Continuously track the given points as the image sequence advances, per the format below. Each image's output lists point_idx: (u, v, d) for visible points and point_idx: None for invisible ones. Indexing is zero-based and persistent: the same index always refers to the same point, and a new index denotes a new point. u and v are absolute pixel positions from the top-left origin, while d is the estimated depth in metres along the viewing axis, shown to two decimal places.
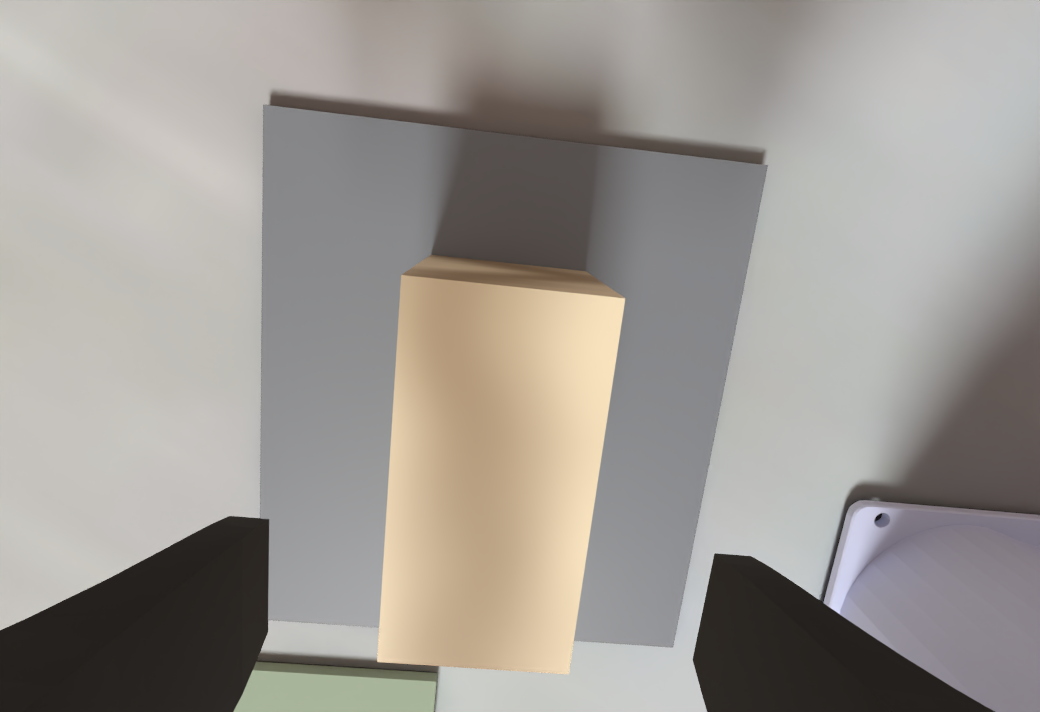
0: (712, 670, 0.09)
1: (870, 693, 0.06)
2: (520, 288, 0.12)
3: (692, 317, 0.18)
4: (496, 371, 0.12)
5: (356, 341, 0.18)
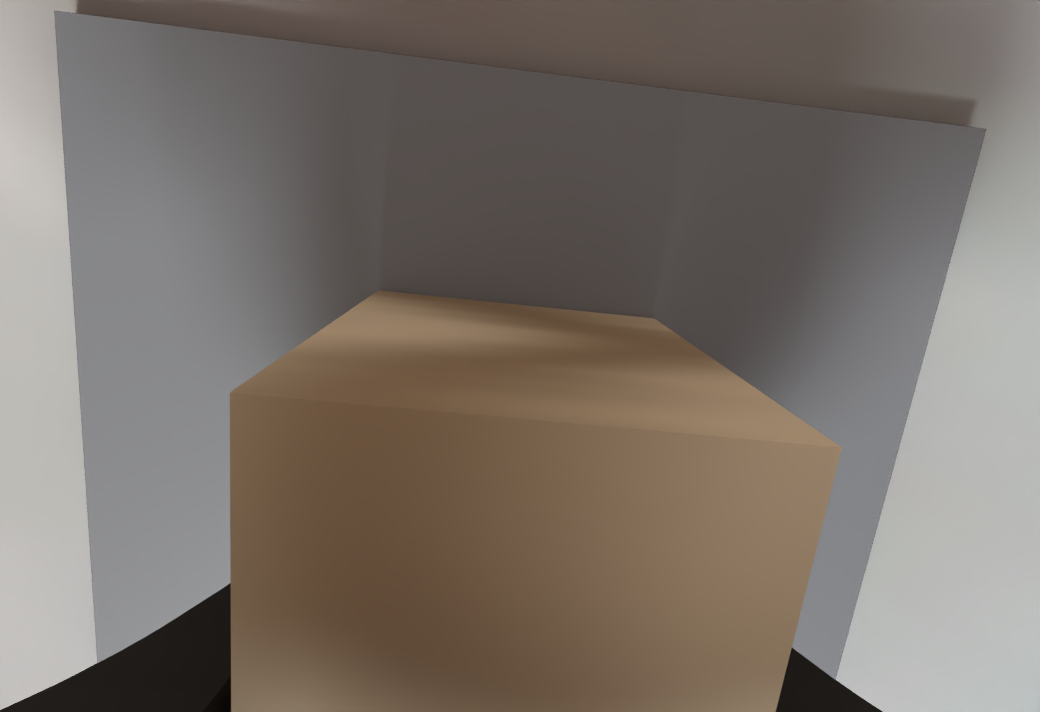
0: None
1: None
2: (561, 425, 0.04)
3: (835, 396, 0.10)
4: (497, 628, 0.05)
5: None
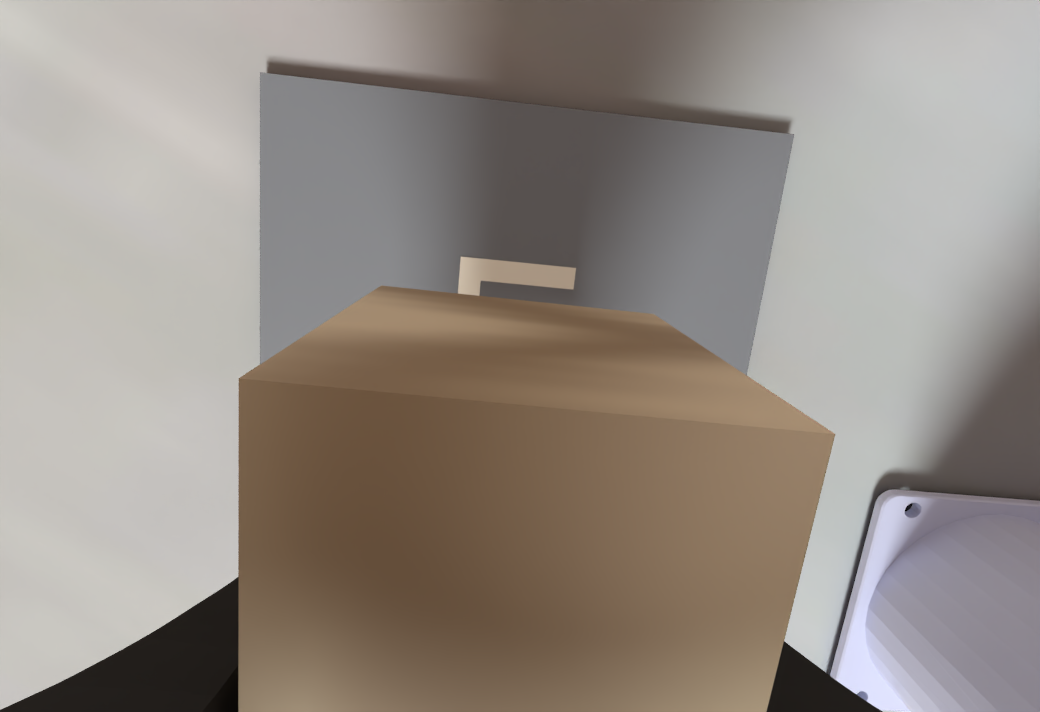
0: None
1: None
2: (562, 411, 0.04)
3: (714, 297, 0.17)
4: (499, 611, 0.05)
5: None
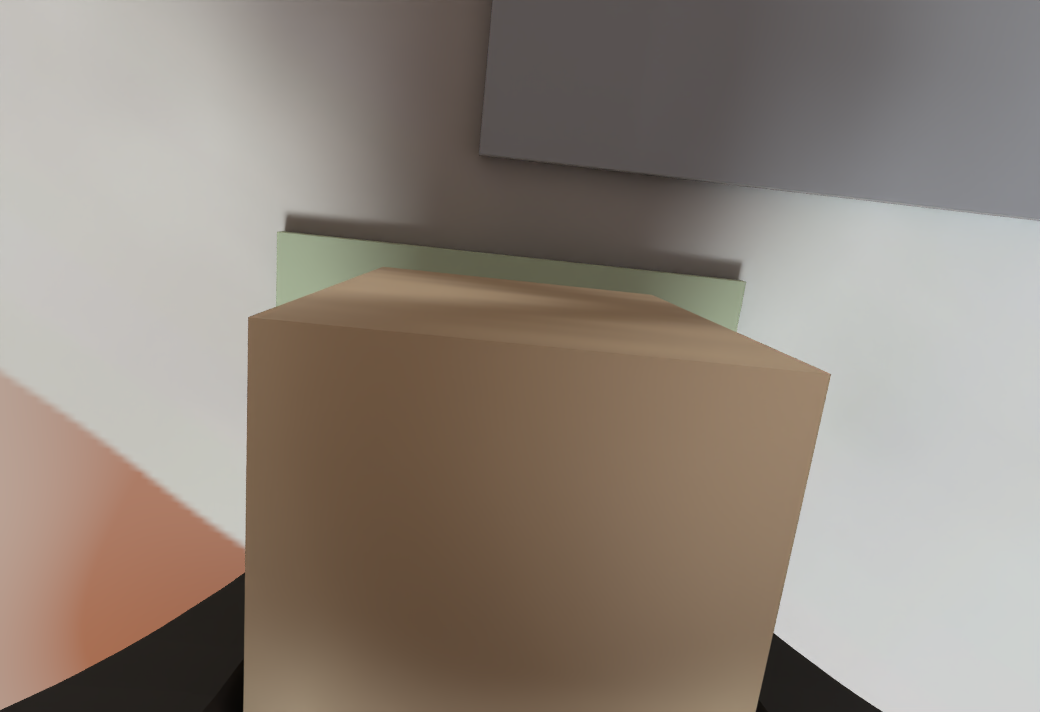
0: None
1: None
2: (563, 350, 0.05)
3: None
4: (501, 554, 0.05)
5: None
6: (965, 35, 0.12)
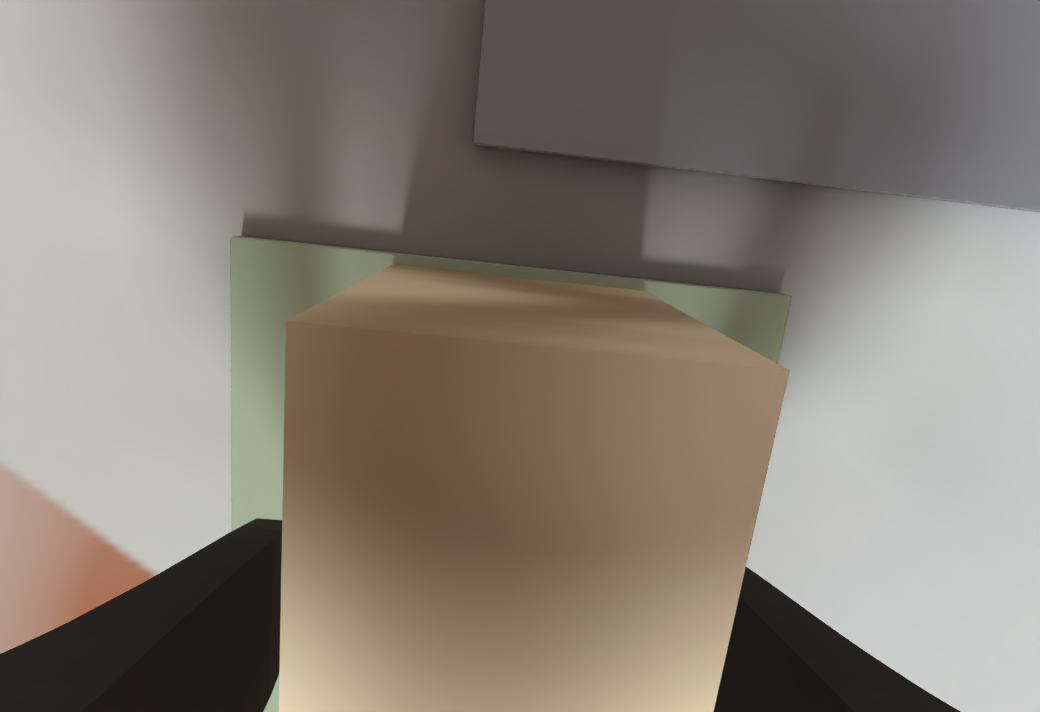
0: None
1: (832, 691, 0.06)
2: (557, 349, 0.05)
3: None
4: (504, 525, 0.06)
5: None
6: None
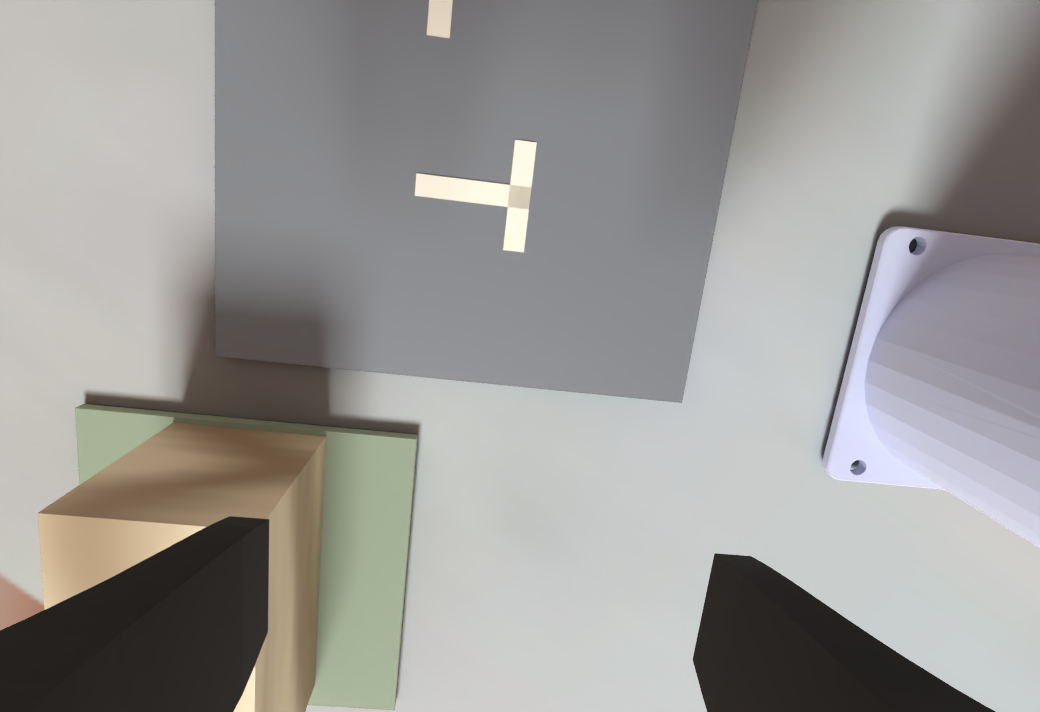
0: (712, 670, 0.09)
1: (870, 693, 0.06)
2: (155, 523, 0.13)
3: None
4: None
5: (324, 2, 0.15)
6: (549, 279, 0.17)
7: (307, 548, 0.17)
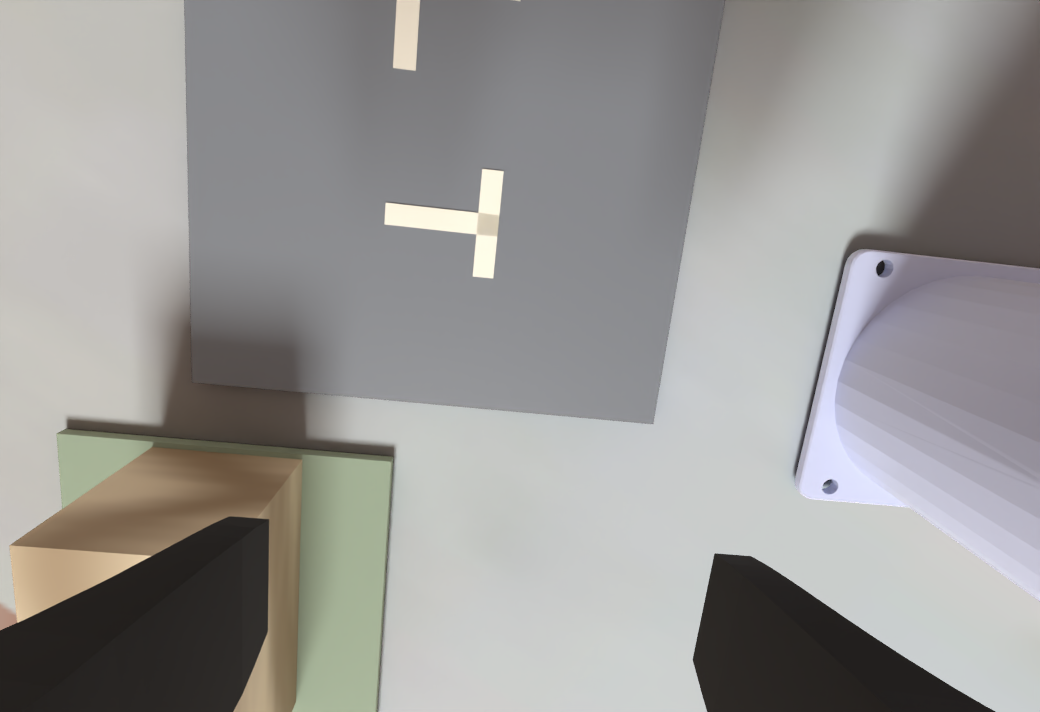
0: (712, 670, 0.09)
1: (870, 693, 0.06)
2: (123, 554, 0.13)
3: (671, 14, 0.16)
4: None
5: (292, 37, 0.16)
6: (519, 304, 0.18)
7: (283, 570, 0.18)
